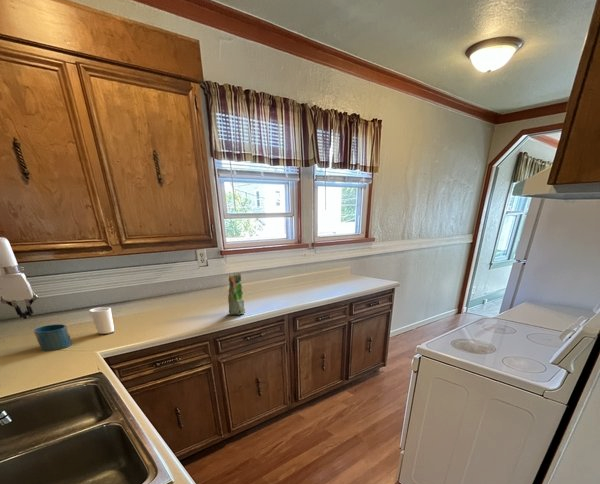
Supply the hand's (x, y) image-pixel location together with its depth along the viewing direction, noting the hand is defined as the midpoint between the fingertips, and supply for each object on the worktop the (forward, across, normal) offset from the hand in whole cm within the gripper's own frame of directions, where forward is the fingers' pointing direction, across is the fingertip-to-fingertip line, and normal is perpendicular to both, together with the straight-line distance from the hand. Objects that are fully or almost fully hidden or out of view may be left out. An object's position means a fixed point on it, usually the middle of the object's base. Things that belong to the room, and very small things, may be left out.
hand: (26, 315), depth 139 cm
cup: (+18, -27, -18) cm, 37 cm away
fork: (0, 0, 0) cm, 1 cm away
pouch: (+19, -101, -17) cm, 104 cm away
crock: (+18, -5, -8) cm, 20 cm away
